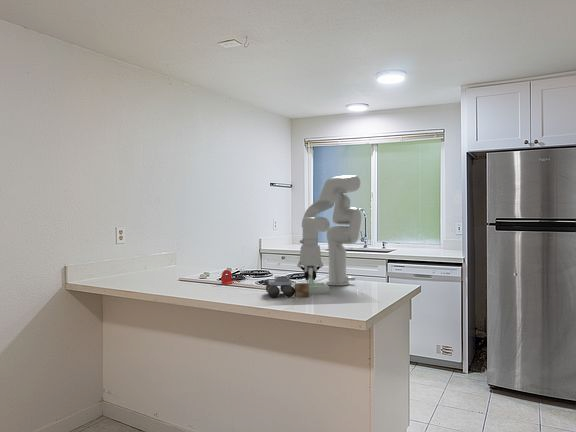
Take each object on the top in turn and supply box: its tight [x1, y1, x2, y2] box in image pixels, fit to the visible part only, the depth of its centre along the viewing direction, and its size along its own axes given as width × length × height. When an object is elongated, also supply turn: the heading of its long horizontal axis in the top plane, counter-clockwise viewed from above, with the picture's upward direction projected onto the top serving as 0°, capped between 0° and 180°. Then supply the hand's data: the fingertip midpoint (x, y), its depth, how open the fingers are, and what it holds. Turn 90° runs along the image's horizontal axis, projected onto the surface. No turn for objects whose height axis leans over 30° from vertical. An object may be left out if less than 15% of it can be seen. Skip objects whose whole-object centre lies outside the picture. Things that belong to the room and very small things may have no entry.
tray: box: [292, 281, 330, 295], centre depth 219 cm, size 16×13×4 cm
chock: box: [294, 282, 310, 299], centre depth 206 cm, size 6×4×6 cm, turn 97°
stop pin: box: [306, 266, 315, 285], centre depth 219 cm, size 4×4×12 cm
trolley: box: [265, 275, 295, 299], centre depth 209 cm, size 12×12×8 cm
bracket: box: [221, 269, 241, 286], centre depth 249 cm, size 12×4×8 cm, turn 142°
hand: (310, 279), depth 219 cm, fingers closed on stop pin, 3 cm apart
